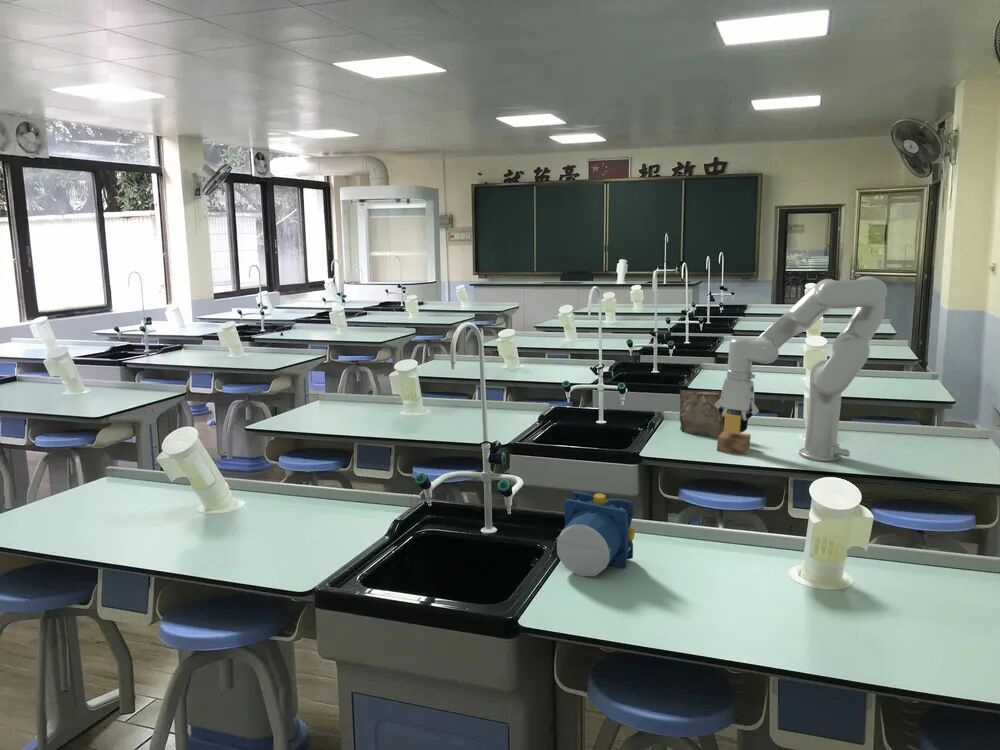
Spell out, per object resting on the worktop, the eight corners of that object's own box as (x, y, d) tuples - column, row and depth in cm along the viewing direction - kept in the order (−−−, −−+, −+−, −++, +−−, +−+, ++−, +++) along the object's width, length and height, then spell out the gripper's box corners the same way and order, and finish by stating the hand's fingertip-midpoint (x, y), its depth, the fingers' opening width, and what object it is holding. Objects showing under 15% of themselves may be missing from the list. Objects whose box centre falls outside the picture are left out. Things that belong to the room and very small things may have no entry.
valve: (572, 545, 183) (571, 485, 178) (636, 558, 176) (636, 497, 171) (548, 574, 172) (546, 511, 167) (615, 590, 165) (615, 525, 160)
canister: (745, 430, 265) (746, 410, 263) (738, 433, 261) (740, 413, 259) (730, 428, 268) (731, 407, 266) (723, 431, 264) (725, 410, 262)
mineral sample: (726, 436, 282) (729, 392, 279) (723, 439, 278) (726, 394, 275) (678, 429, 291) (680, 386, 288) (674, 431, 287) (676, 388, 284)
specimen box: (749, 448, 267) (750, 434, 266) (744, 455, 259) (745, 440, 259) (722, 445, 271) (723, 430, 270) (716, 451, 263) (717, 437, 262)
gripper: (768, 377, 258) (763, 431, 262) (718, 370, 269) (714, 422, 272) (760, 381, 253) (755, 436, 256) (709, 373, 263) (705, 426, 266)
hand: (734, 428), depth 264 cm, fingers closed on canister, 5 cm apart
